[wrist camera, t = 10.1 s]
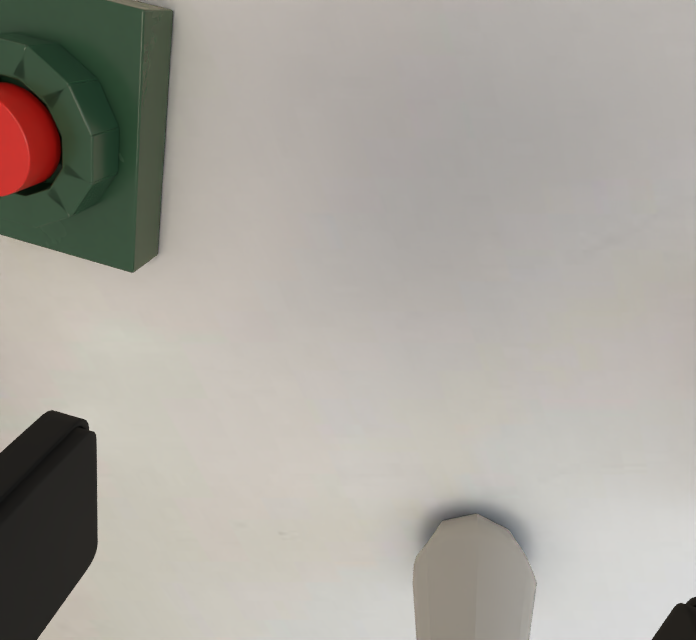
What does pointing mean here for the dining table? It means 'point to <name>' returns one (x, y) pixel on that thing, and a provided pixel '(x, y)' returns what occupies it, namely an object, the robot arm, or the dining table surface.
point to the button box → (92, 124)
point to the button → (25, 140)
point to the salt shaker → (473, 583)
